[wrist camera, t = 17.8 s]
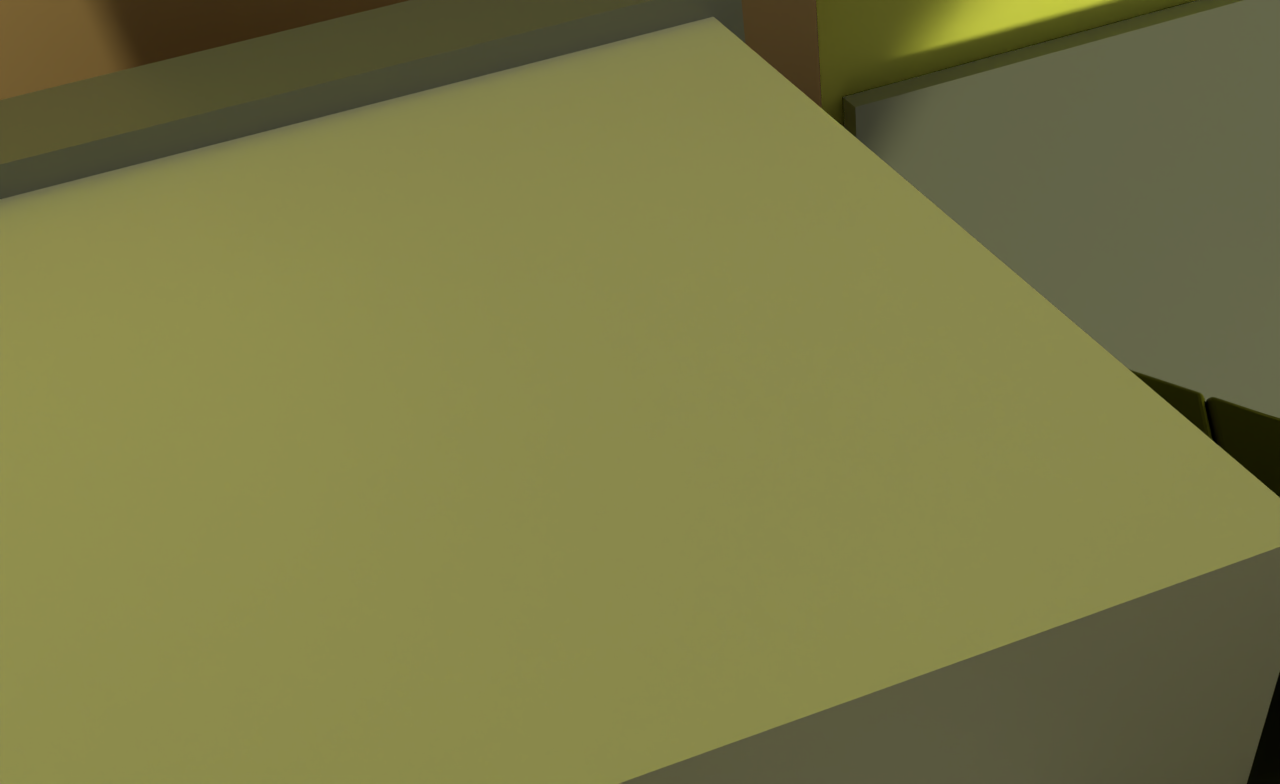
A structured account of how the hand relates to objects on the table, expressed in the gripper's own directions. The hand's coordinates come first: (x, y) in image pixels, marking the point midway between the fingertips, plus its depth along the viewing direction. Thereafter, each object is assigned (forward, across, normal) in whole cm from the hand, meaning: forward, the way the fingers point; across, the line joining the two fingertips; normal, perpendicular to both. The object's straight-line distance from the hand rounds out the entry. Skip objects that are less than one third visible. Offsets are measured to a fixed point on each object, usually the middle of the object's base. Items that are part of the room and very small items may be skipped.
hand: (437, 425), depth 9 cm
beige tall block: (+2, 0, 0) cm, 2 cm away
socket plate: (+4, -9, +5) cm, 11 cm away
